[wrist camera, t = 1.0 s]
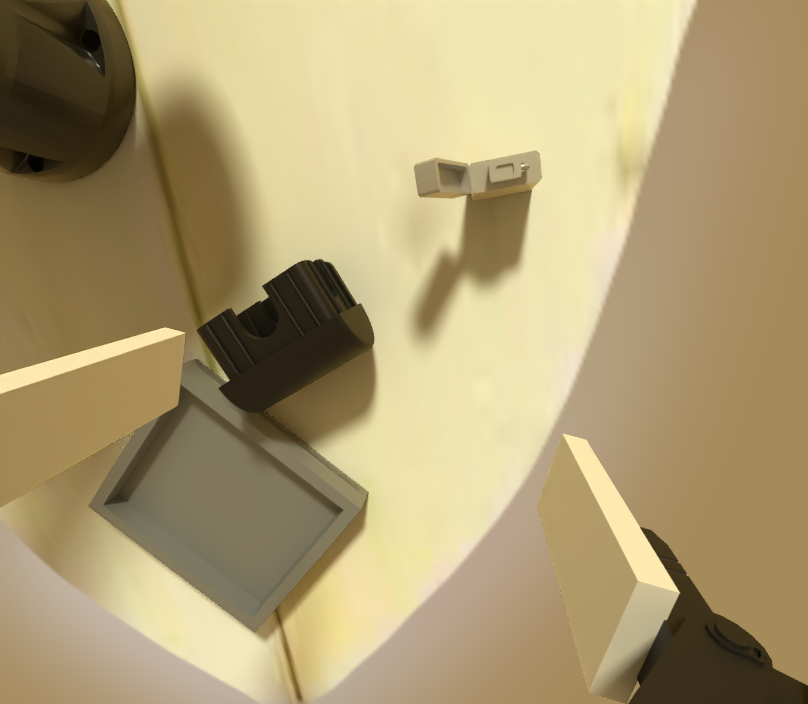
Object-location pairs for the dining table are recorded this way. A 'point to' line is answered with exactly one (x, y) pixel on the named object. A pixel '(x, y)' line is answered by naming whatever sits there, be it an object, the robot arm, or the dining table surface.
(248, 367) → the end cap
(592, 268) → the dining table surface
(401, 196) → the dining table surface
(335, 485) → the seat tray
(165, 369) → the robot arm
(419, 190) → the lighter
